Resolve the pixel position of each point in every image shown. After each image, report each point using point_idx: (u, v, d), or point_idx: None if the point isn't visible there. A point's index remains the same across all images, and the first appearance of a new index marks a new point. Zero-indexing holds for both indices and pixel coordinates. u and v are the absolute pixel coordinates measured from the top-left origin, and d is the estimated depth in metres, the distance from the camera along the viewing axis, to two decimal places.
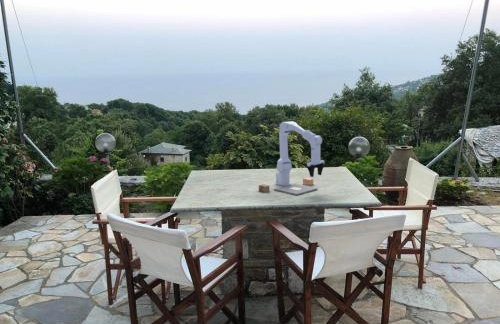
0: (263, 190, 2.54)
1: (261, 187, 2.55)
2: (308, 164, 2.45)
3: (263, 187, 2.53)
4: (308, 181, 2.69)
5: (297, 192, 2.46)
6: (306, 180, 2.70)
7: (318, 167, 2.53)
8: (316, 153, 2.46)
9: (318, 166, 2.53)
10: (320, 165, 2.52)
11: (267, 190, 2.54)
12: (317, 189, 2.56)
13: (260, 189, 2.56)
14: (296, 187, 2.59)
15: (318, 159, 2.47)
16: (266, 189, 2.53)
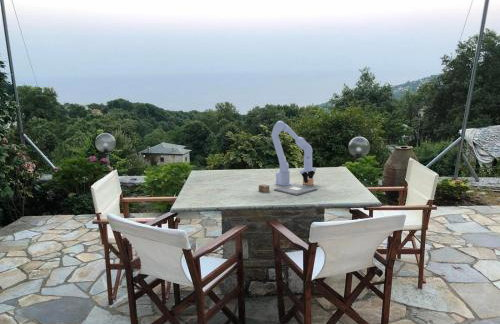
0: (263, 190, 2.54)
1: (261, 187, 2.55)
2: (301, 171, 2.65)
3: (263, 187, 2.53)
4: (308, 181, 2.69)
5: (297, 192, 2.46)
6: None
7: (309, 174, 2.73)
8: (311, 161, 2.67)
9: (309, 173, 2.73)
10: (311, 172, 2.71)
11: (267, 190, 2.54)
12: (317, 189, 2.56)
13: (260, 189, 2.56)
14: (296, 187, 2.59)
15: (310, 167, 2.67)
16: (266, 189, 2.53)
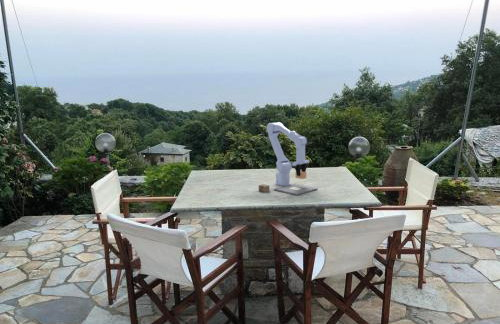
0: (263, 190, 2.54)
1: (261, 187, 2.55)
2: (293, 164, 2.55)
3: (263, 187, 2.53)
4: (301, 174, 2.58)
5: (297, 192, 2.46)
6: None
7: (302, 167, 2.63)
8: (301, 153, 2.56)
9: (302, 166, 2.63)
10: (303, 165, 2.61)
11: (267, 190, 2.54)
12: (317, 189, 2.56)
13: (260, 189, 2.56)
14: (296, 187, 2.59)
15: (303, 159, 2.57)
16: (266, 189, 2.53)
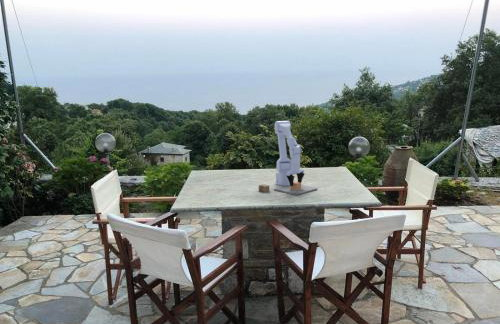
0: (263, 190, 2.54)
1: (261, 187, 2.55)
2: (288, 173, 2.50)
3: (263, 187, 2.53)
4: (296, 185, 2.53)
5: (297, 192, 2.46)
6: (293, 184, 2.54)
7: (298, 176, 2.58)
8: (294, 163, 2.51)
9: (298, 175, 2.58)
10: (300, 174, 2.57)
11: (267, 190, 2.54)
12: (317, 189, 2.56)
13: (260, 189, 2.56)
14: None
15: (297, 169, 2.52)
16: (266, 189, 2.53)
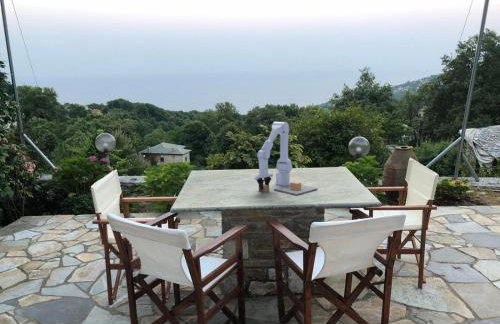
0: (263, 190, 2.54)
1: None
2: (255, 178, 2.50)
3: (263, 187, 2.53)
4: (296, 185, 2.53)
5: (297, 192, 2.46)
6: (293, 184, 2.54)
7: (265, 180, 2.57)
8: (259, 166, 2.53)
9: (265, 179, 2.57)
10: (267, 179, 2.56)
11: (267, 190, 2.54)
12: (317, 189, 2.56)
13: (260, 189, 2.56)
14: None
15: (265, 173, 2.52)
16: (266, 189, 2.53)
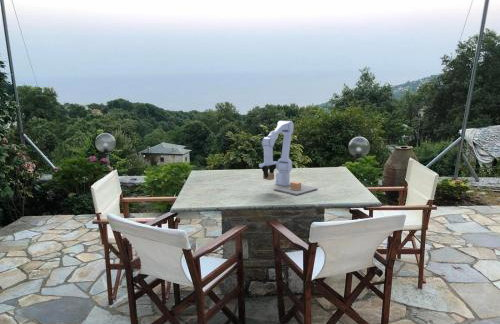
0: (268, 178, 2.52)
1: None
2: (260, 165, 2.49)
3: (268, 175, 2.52)
4: (296, 185, 2.53)
5: (297, 192, 2.46)
6: (293, 184, 2.54)
7: (270, 168, 2.56)
8: (264, 154, 2.51)
9: (270, 167, 2.56)
10: (271, 166, 2.54)
11: (272, 178, 2.53)
12: (317, 189, 2.56)
13: (265, 177, 2.55)
14: None
15: (270, 160, 2.50)
16: (271, 177, 2.52)
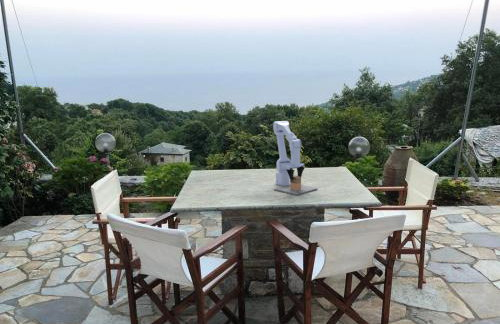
0: (295, 181, 2.53)
1: (293, 178, 2.54)
2: (287, 167, 2.49)
3: (295, 178, 2.53)
4: (296, 185, 2.53)
5: (297, 192, 2.46)
6: (293, 184, 2.54)
7: (298, 170, 2.58)
8: (294, 156, 2.50)
9: (298, 169, 2.58)
10: (300, 168, 2.56)
11: (299, 181, 2.54)
12: (317, 189, 2.56)
13: (291, 180, 2.55)
14: None
15: (297, 162, 2.51)
16: (298, 180, 2.53)
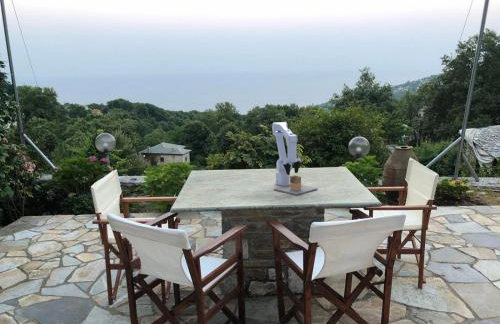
0: (295, 181, 2.53)
1: (293, 178, 2.54)
2: (284, 162, 2.51)
3: (295, 178, 2.53)
4: (296, 185, 2.53)
5: (297, 192, 2.46)
6: (293, 184, 2.54)
7: (295, 165, 2.59)
8: (290, 151, 2.52)
9: (295, 164, 2.59)
10: (296, 163, 2.58)
11: (299, 181, 2.54)
12: (317, 189, 2.56)
13: (291, 180, 2.55)
14: None
15: (294, 157, 2.53)
16: (298, 180, 2.53)
